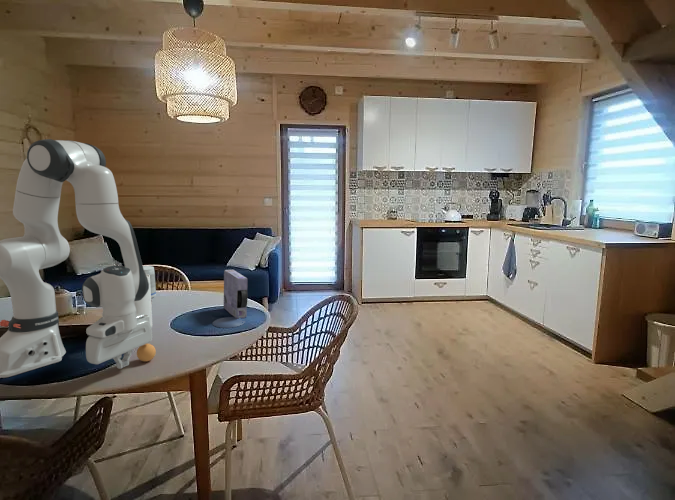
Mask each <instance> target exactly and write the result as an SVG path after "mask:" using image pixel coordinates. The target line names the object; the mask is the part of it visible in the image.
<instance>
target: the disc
mask: <svg viewBox="0 0 675 500" xmlns="http://www.w3.org/2000/svg"><path fill="white" fill-rule="evenodd" d="M242 322H243V323H242ZM244 323H245V324H246V320H245V321H242V320H240V319H239V320H237V318H235V317H234V316H230V317H229V316H226V317H221V318H216V319H215V320H214V321H212V326H213V325H214V326H213V327H215V326H216V328H219V327H220V329H230V328H231V329H232V327H233V328H237V326H238V327H241V326H243V325H245V324H244ZM240 325H241V326H240Z"/></svg>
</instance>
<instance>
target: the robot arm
mask: <svg viewBox="0 0 675 500" xmlns="http://www.w3.org/2000/svg"><path fill="white" fill-rule="evenodd" d="M106 160H107V159H106V156H105V153H103V151H102V150H101V149H100V148H98V147H97V146H95V145H93V144H89V143H86V142H85V143H84V142H79V141H74V140H68V139H67V140H62V139H55V140H54V139H51V138H50V139H49V138H48V139H46V138H45V139H39V140H35V141H34V142H33V143H30V145H29V147H28V148H27V153H26V158H25V160H24V161H23V163H22V165H21V166H20V170H19V173H18V177H17V181H16V186H15V193H14V200H13V207H12V215H13V217H14V218H15V220H17V221H18V222H20V223H21V224H23V227H24V228H23V229H24V232H23V233H24V234H23V236H16V237H8V238H4V239H1V240H0V280H1V281H3V283H4V284H5V286H6V288H7V289H8V292H9V294H10V299H11V300H10V301H11V305H12V314H13V315H12V317H11V318H10V319H11V320H6V319H2V320H0V327H4V328H8V329H7V331H6V332H5V333H3V335H1V337H0V379H1V378H3V379H5V378H9V377H13V376H17V375H20V374H23V373H26V372H29V371H33V370H36V369H39V368H42V367H45V366H49V365H52V364H56V363H59V362H61V361H62V359H63V357H64V355H65V354H66V353H67V351H66V348H65V347H64V344H63V340H62V337H61V334H60V329H59V326H60V325H59V323H60V319H59V317H60V316H59V311H58V310H57V305H56V293H55V289H54V286H53V285H51V284H50V283H47V282H46V281H45V282H44V281H43V279H42V277H41V275H40V270H42V269H48V268H51V267H54V266H57V265H59V264H61V263H62V262H64V261H66V260H67V259H68V258H69V256H70V251H71V249H70V243H69V242H68V240H67V239H66V238H65V237H64V236H63V235H62V233H61V231H60V228H59V222H58V221H59V220H58V218H59V210H60V209H59V208H60V202H61V194H62V187H63V184H64V182H66V181H67V182H68V183H70V184H71V186H72V188H73V192H74V200H75V203H74V204H75V213H76V218H77V220H78V223H79V224H80V225H81V226H82V227H83V228H84V229H86V230H87V231H89V232H90V233H94V234H97V235H101V236H104V237H107V238H111V239H112V240H114V241H116V242H117V243H118V245H119V247H120V252H121V257H122V259H123V264H124V266H123V265H110V266H107V267H104V268H103V269H102V270H101V271H100V273H98V274H96V275H92V276H89V277H87V278H86V279H85V281H84V282H83V284H82V285H81V292H82V293H81V294H82V298H83V301H84V302H85V303H86V304H87V305H88V306H91V307H93V308H102V313H101V314H102V316H101V317H100V318H99V319H98V320H97V321H95V322H93V323H92V324H91V325H89V326H88V327H86V331H85V332H86V334H87V336H88V337H87V338H86V342H85V357H86V361H87V362H88V363H89V364H92V365H99V364H102V363H104V362H106V361H109V360H114V362H115V364H116V368H117V369H119V370H121V369H123V368H125V367H127V366H129V365H130V358H131V356H132V354H133V350H135V349H137V348H139V347H140V346H142V345H145V344H151V342H152V340H153V331H152V327H151V325H150V321H149V317H148V315H145V314H142V315H140V316H137V314H136V307H135V304H134V301H139V300H141V299H142V298H143V297H144V296H145V295H146V293H147V292H148V289H149V283H148V279H147V276H146V274H145V271H144V269H143V266H144V265H143V262H142V261H143V260H142V259H141V258H142V257H141V255H140V250H139V246H138V242H137V238H136V234H135V231H134V228H133V226H132V224H131V221H129V220H128V219H125V218H124V216H123V214H122V211H121V210H120V206H119V195H118V188H117V184H116V181H115V177H114V175H113V172H112V170H110V169H109V168H108V167H107V166H106V165H107V161H106ZM122 355H123V358H122ZM121 358H122V359H121Z"/></svg>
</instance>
